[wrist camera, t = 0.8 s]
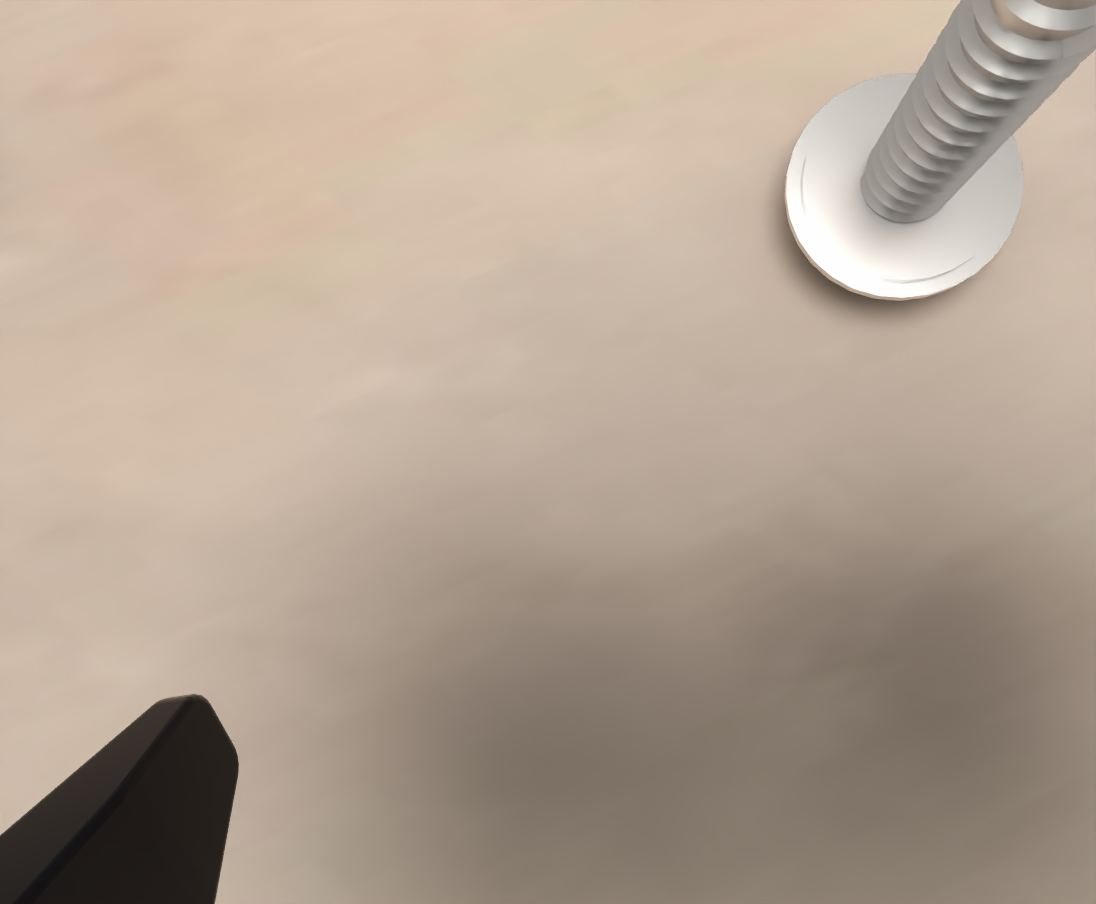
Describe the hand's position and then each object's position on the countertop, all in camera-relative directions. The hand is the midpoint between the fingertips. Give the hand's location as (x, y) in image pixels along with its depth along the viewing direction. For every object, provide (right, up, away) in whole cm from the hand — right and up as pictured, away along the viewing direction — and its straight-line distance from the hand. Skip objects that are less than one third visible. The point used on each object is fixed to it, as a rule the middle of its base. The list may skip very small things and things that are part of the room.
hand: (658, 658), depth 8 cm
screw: (+7, +8, +13) cm, 16 cm away
